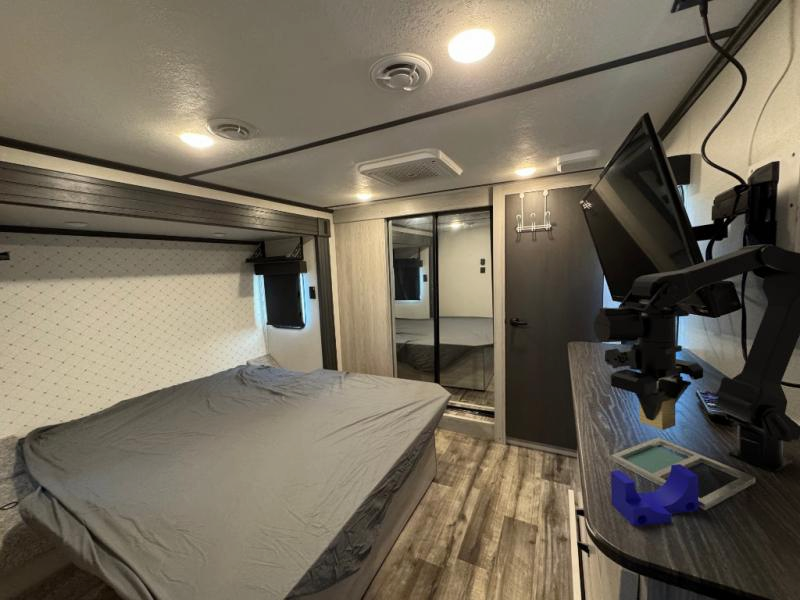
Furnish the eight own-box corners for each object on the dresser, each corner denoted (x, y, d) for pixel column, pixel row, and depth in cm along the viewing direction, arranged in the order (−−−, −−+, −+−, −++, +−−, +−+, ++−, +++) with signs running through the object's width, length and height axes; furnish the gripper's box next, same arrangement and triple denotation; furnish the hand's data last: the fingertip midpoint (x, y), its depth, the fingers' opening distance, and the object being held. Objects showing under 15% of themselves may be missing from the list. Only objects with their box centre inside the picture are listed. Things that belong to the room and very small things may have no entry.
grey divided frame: (657, 441, 68) (657, 437, 68) (755, 482, 54) (755, 477, 54) (610, 459, 62) (610, 455, 62) (705, 510, 48) (705, 504, 48)
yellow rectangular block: (652, 417, 63) (652, 391, 63) (675, 425, 60) (675, 398, 59) (639, 421, 62) (639, 395, 62) (662, 430, 58) (662, 402, 58)
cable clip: (633, 527, 46) (633, 489, 46) (611, 505, 51) (611, 471, 50) (708, 519, 47) (708, 482, 47) (679, 498, 52) (680, 464, 51)
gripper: (642, 328, 70) (643, 394, 71) (583, 339, 64) (585, 411, 65) (704, 335, 60) (704, 413, 61) (642, 349, 53) (643, 435, 55)
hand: (657, 417), depth 61 cm, fingers closed on yellow rectangular block, 4 cm apart
